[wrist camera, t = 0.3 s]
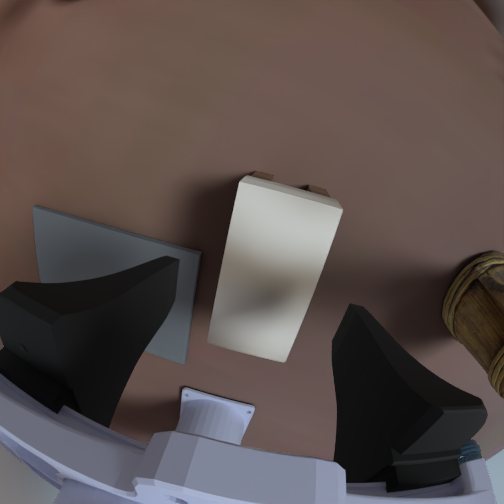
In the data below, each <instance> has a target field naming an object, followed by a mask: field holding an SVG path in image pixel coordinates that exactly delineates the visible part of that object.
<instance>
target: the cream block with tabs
mask: <svg viewBox="0 0 504 504" xmlns="http://www.w3.org/2000/svg"><path fill="white" fill-rule="evenodd" d="M273 176H274V175H271V174H267V173H263V172H259V171H255V172H254V173H253V174H252V175H251V176H248V175H246V176H245V177H244V178H243V179H242V180H241V181H239V186H238V190H237V195H236V199H235V204H234V209H233V213H232V218H231V223H230V227H229V232H228V237H227V242H226V247H225V251H224V256H223V261H222V266H221V271H220V276H219V281H218V286H217V292H216V297H215V302H214V307H213V312H212V318H211V323H210V328H209V334H208V339H207V343H210V344H213V345H217V346H220V347H224V348H227V349H231V350H235V351H239V352H242V353H246V354H250V355H254V356H258V357H262V358H266V359H271V360H275V361H279V362H284V363H285V361H286V359H287V357H288V354H289V352H290V350H291V347H292V345H293V343H294V340H295V338H296V336H297V333H298V331H299V328H300V326H301V323H302V321H303V318H304V316H305V314H306V311H307V309H308V306H309V303H310V301H311V298H312V296H313V293H314V291H315V288H316V285H317V283H318V280H319V277H320V275H321V272H322V269H323V266H324V264H325V261H326V258H327V255H328V253H329V250H330V247H331V244H332V241H333V238H334V235H335V232H336V229H337V226H338V223H339V220H340V217H341V214H342V211H343V209H342V207H341V206H340V204H339V203H338V201H337V200H336V199H333V198H331V197H330V196H329V194H328V192H327V191H326V190H325V189H322V188H319V187H315V186H312V185H308V189H307V191H305V190H302V189H298V188H295V187H291V186H287V185H283V184H280V183H276V182H272V180H273Z"/></svg>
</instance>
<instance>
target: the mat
mask: <svg viewBox="0 0 504 504" xmlns="http://www.w3.org/2000/svg"><path fill="white" fill-rule="evenodd" d="M33 222H34V236H35V246H36V255H37V263H38V270H39V276H40V282H41V283H63V282H73V281H81V280H88V279H93V278H98V277H102V276H106V275H110V274H114V273H117V272H120V271H123V270H126V269H129V268H132V267H135V266H138V265H140V264H143V263H146V262H148V261H151V260H154V259H156V258H159V257H162V256H166V255H167V256H170V257H174V258H177V259H180V263H179V271H178V280H177V289H176V299H175V302H174V304H173V306H172V308H171V310H170V312H169V314H168V316H167V318H166V319H165V321H164V322H163V324H162V325H161V327H160V328H159V330H158V331H157V333H156V334H155V336H154V337H153V339H152V340H151V341H150V343H149V344H148V346H147V347H146V349H145V350H144V351H146V352H148V353H151V354H154V355H157V356H160V357H162V358H165V359H168V360H171V361H174V362H177V363H180V364H183V365H185V363H186V361H187V352H188V344H189V336H190V328H191V321H192V314H193V306H194V299H195V293H196V286H197V279H198V273H199V266H200V260H201V254H202V252H200V251H196V250H193V249H189V248H185V247H182V246H178V245H175V244H171V243H167V242H164V241H160V240H156V239H153V238H149V237H146V236H142V235H139V234H135V233H131V232H128V231H124V230H121V229H117V228H114V227H110V226H107V225H103V224H100V223H96V222H93V221H89V220H86V219H82V218H79V217H75V216H72V215H69V214H65V213H62V212H58V211H55V210H51V209H48V208H45V207H41V206H38V205H36V206H34V207H33Z"/></svg>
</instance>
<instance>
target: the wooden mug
mask: <svg viewBox="0 0 504 504" xmlns="http://www.w3.org/2000/svg"><path fill="white" fill-rule="evenodd" d="M442 318H443V320H444V322H445V324H446V326H447V327H448V329H449V330H450V332H451V333H452V335H453V336H454V338H455V339H456V340H457V341H459V342H460V343H461V344H463V345H464V346H465V347H466V349H467V350H468V351H469V352H470V353H471V354H472V355H473V357H474V358H475V359H476V360H477V361H478V363H479V364H480V365H481V366H482V367H483V369H484V370H485V371H486V373H487V374H488V379H489V382H490V384H491V386H492V387H493V388H494V389H495V391H496V392H497V393H498V394H499V396H501V397H502V398H503V399H504V254H503V253H500V252H497V251H492V252H488V253H484V254H483V255H482V256H480V257H479V258H476V259H475V260H473V261H472V262H471V263H470V264H469V265H467V266H466V267H464V268H463V269H462V271H461V272H460V273H459V274H458V275H457V276H456V278H455V280H454V281H453V283H452V284H451V286H450V287H449V289H448V292H447V294H446V296H445V299H444V303H443V313H442Z"/></svg>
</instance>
